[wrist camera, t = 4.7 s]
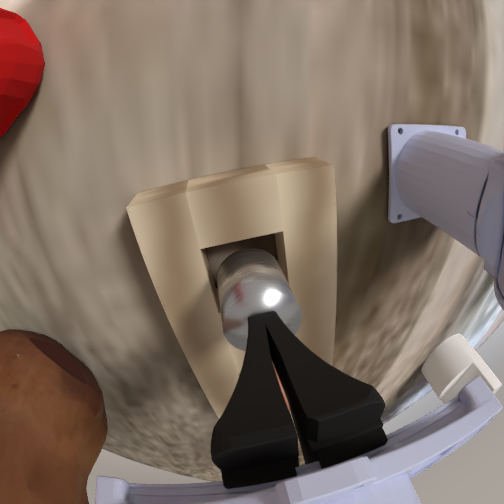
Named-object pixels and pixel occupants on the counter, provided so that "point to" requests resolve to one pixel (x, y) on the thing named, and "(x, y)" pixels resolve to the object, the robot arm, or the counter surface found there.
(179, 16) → the counter surface
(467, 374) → the base with upright slab
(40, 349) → the butternut squash
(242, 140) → the counter surface
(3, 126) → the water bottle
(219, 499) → the robot arm
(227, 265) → the steel plunger
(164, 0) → the counter surface
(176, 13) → the counter surface
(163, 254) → the socket block
